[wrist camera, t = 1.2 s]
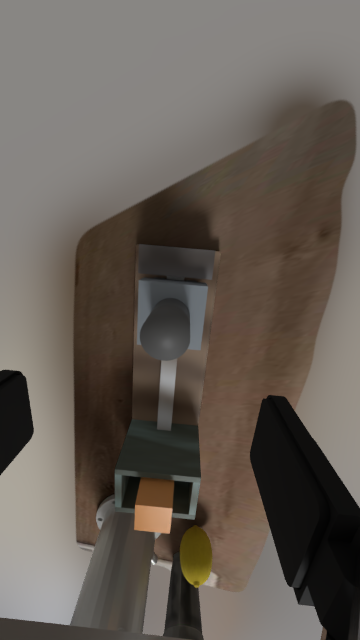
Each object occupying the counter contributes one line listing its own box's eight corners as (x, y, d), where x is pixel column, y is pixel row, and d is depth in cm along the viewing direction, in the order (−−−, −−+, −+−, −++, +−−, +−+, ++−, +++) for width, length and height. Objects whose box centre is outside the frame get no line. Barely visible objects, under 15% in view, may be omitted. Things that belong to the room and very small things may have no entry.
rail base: (193, 453, 36) (194, 519, 27) (131, 446, 36) (111, 511, 27) (219, 251, 27) (234, 250, 18) (135, 244, 27) (108, 239, 18)
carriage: (198, 337, 28) (204, 380, 18) (144, 332, 28) (120, 372, 18) (205, 281, 26) (215, 298, 16) (146, 276, 26) (120, 289, 16)
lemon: (174, 525, 42) (171, 586, 34) (194, 510, 40) (195, 571, 33) (196, 539, 42) (198, 602, 35) (216, 525, 41) (222, 587, 33)
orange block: (172, 495, 28) (169, 533, 24) (141, 492, 28) (134, 530, 24) (174, 472, 27) (172, 508, 23) (142, 469, 27) (135, 504, 23)
